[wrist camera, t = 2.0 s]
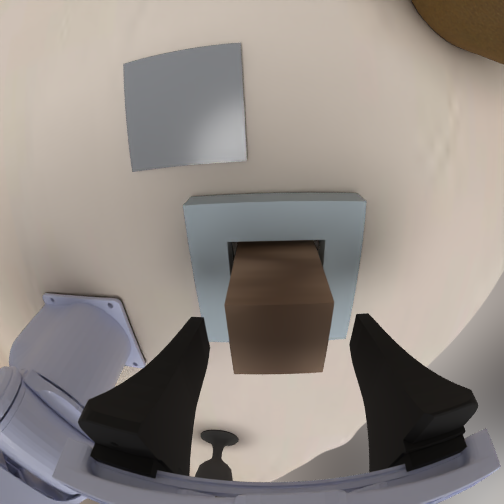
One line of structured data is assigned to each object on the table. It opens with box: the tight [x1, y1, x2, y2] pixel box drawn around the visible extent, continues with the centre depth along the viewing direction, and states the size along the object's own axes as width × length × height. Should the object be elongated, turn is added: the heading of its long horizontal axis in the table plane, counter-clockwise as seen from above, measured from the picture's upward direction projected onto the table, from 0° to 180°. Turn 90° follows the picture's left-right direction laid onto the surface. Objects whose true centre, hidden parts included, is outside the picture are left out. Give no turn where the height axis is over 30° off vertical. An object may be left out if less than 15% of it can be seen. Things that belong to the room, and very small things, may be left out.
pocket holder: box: [183, 193, 367, 342], centre depth 18 cm, size 10×10×2 cm
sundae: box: [195, 430, 238, 497], centre depth 23 cm, size 7×7×15 cm
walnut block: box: [224, 240, 334, 374], centre depth 15 cm, size 4×4×7 cm
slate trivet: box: [123, 43, 247, 172], centre depth 14 cm, size 7×7×1 cm
